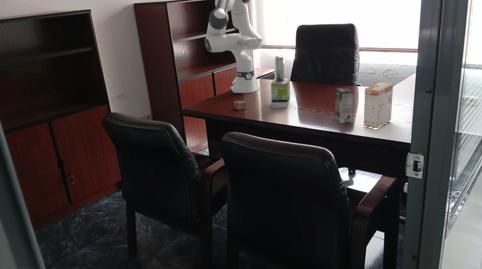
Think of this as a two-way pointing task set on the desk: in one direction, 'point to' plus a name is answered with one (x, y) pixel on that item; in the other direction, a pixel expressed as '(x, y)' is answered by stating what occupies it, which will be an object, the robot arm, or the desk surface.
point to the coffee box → (343, 105)
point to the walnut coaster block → (240, 105)
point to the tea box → (280, 93)
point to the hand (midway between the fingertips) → (257, 39)
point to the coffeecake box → (378, 104)
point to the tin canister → (279, 68)
